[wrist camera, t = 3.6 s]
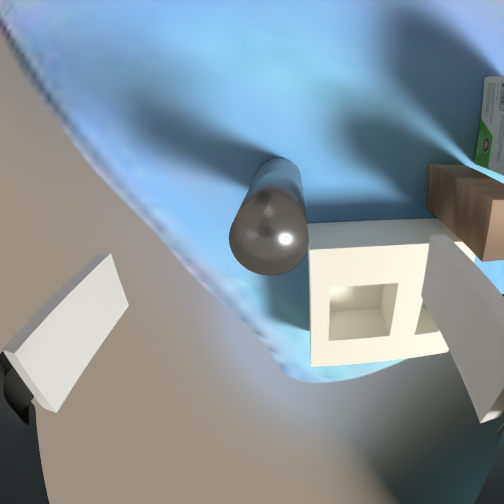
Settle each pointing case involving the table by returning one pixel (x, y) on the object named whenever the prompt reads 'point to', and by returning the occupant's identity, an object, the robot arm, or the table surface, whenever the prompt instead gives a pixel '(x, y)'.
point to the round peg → (271, 221)
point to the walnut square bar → (469, 207)
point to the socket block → (371, 290)
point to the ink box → (491, 126)
